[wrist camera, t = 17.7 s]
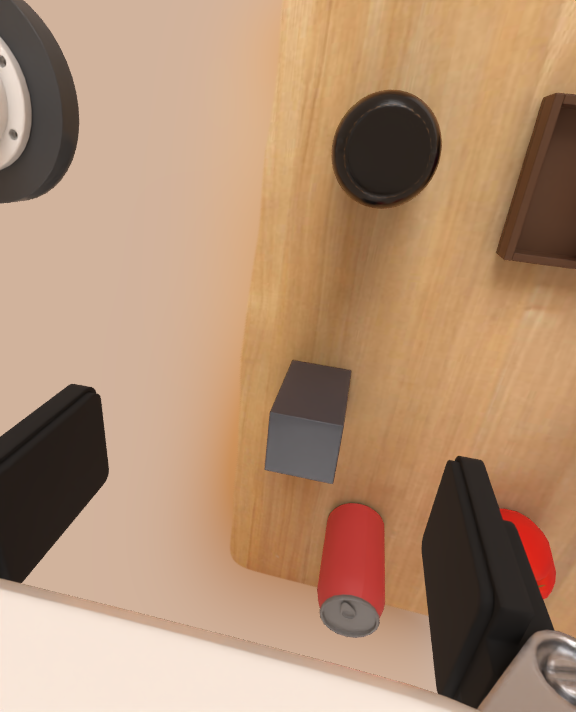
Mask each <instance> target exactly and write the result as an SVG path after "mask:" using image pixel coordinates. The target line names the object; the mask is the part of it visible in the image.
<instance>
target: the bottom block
mask: <svg viewBox="0 0 576 712" xmlns="http://www.w3.org/2000/svg"><path fill="white" fill-rule="evenodd" d="M350 378H351V370H346V369H341V368H335V367H329V366H323V365H317V364H312V363H306V362H300V361H294V360H292V362H291V365H290V367H289V369H288V372H287V374H286V376H285V379H284V381H283V383H282V386H281V388H280V390H279V393H278V395H277V397H276V400H275V402H274V404H273V406H272V409H271V411H270V417H269V428H268V438H267V449H266V460H265V470H268V471H272V472H277V473H282V474H287V475H292V476H296V477H301V478H306V479H311V480H315V481H320V482H325V483H330V484H333V482H334V477H335V471H336V466H337V460H338V455H339V449H340V444H341V438H342V433H343V428H344V421H345V413H346V406H347V399H348V392H349V385H350Z"/></svg>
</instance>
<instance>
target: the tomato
mask: <svg viewBox="0 0 576 712" xmlns="http://www.w3.org/2000/svg"><path fill="white" fill-rule="evenodd" d="M500 512H501V515H502V518H503V520H506V521H511V522H512V523H514V524H515V526H516V528H517V530H518V533H519V535H520V538H521V541H522V544H523V546H524V549H525V552H526V554H527V557H528V560H529V563H530V565H531V568H532V571H533V573H534V576H535V579H536V582H537V584H538V587H539V590H540V592H541V595H542V598H543V599H545V598H547V597H548V596H549V594H550V593H551V592H552V589H553V586H554V584H555V577H556V571H555V566H554V562H553V558H552V553H551V549H550V546H549V542H548V540H547V538H546V537H545V535H544V533H543V532H542V531H541V530H540V529H539V528H538V527H537V526H536V525H535V524H534V523H533V522H532V521H531V520H530V519H529V518H528V517H526V516H524V515H522V514H521V513H519V512H517V511H512V510H508V509H500Z"/></svg>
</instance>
